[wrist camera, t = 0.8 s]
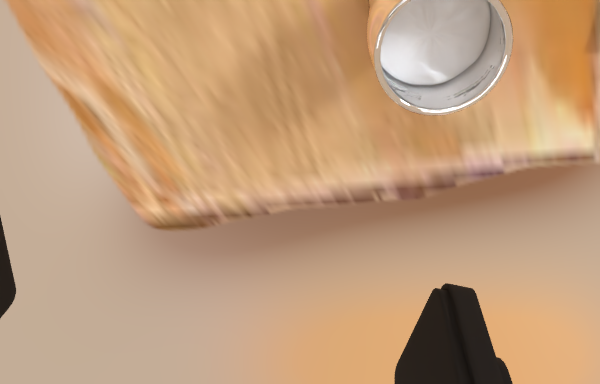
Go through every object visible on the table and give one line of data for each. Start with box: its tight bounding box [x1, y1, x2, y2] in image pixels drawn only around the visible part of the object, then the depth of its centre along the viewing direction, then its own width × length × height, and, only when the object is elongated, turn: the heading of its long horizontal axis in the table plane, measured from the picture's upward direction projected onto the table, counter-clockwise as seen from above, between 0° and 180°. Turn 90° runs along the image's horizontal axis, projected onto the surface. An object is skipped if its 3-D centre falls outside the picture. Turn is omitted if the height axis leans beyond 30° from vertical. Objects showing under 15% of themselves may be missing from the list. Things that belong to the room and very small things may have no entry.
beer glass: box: [367, 0, 513, 116], centre depth 29 cm, size 7×7×15 cm
